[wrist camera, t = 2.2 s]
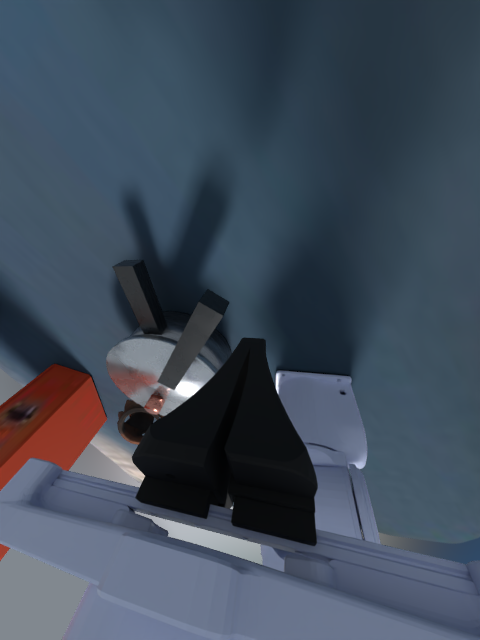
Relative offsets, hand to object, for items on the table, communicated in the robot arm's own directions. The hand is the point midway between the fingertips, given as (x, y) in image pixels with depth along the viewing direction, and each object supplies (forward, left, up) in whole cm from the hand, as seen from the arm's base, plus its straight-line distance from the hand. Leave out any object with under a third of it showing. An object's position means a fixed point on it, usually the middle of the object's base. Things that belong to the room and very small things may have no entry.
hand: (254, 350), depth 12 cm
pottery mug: (+23, +27, -11) cm, 37 cm away
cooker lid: (+10, +8, -5) cm, 14 cm away
